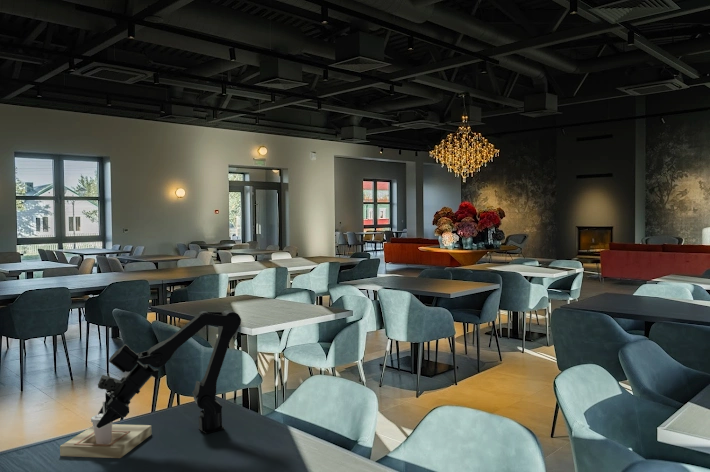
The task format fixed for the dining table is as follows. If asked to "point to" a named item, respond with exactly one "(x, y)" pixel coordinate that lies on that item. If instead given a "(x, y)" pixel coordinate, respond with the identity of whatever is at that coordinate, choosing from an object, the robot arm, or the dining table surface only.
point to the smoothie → (102, 429)
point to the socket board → (118, 447)
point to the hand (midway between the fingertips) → (97, 422)
